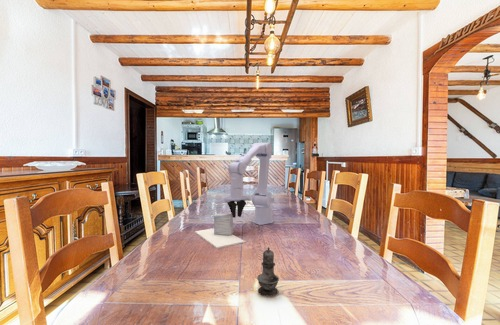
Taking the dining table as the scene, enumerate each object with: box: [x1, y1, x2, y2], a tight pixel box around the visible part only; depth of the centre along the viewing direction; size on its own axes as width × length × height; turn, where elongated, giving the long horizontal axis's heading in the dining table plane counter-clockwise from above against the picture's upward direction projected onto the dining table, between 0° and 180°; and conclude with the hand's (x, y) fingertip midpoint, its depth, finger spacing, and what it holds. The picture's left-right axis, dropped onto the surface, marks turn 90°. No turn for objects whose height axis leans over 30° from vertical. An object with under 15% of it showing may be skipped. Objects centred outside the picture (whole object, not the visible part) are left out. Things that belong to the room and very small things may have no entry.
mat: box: [194, 227, 246, 249], centre depth 110 cm, size 13×24×1 cm, turn 33°
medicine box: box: [213, 213, 234, 235], centre depth 113 cm, size 8×4×9 cm, turn 75°
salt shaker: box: [256, 247, 280, 298], centre depth 66 cm, size 6×6×12 cm
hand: (236, 216), depth 115 cm, fingers open, 3 cm apart
